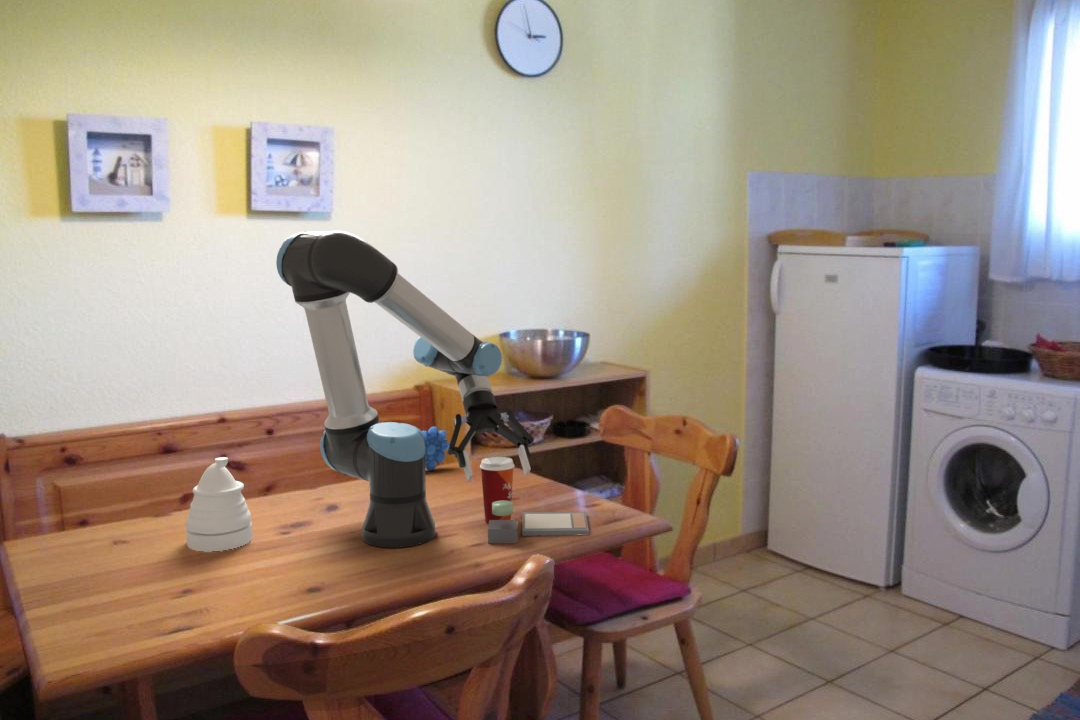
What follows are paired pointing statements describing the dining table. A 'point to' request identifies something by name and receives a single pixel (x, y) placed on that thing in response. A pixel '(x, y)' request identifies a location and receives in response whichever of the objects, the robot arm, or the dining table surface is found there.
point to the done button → (502, 508)
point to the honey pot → (218, 512)
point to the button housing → (503, 531)
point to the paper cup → (496, 484)
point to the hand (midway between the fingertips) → (499, 475)
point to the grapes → (434, 447)
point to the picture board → (554, 523)
